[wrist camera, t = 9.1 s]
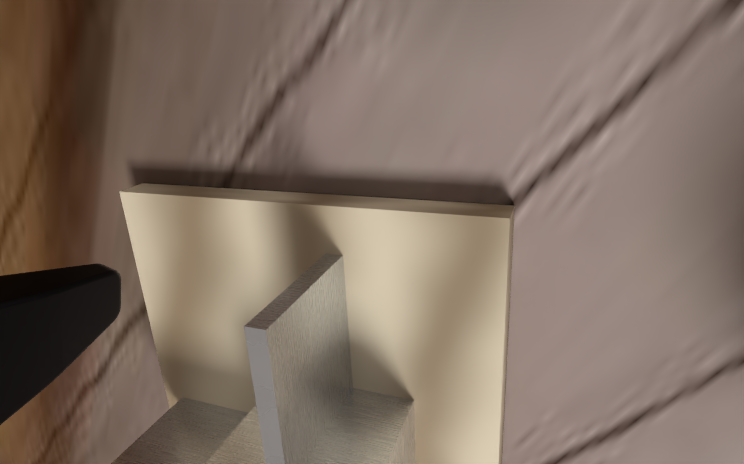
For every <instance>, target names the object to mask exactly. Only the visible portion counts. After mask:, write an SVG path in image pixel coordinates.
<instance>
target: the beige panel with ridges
mask: <svg viewBox="0 0 744 464" xmlns="http://www.w3.org/2000/svg"><path fill="white" fill-rule="evenodd" d="M120 196H121V201H122V205H123V209H124V214H125V218H126V222H127V226H128V231H129V235H130V239H131V244H132V248H133V252H134V257H135V261H136V265H137V269H138V274H139V278H140V282H141V287H142V291H143V295H144V300H145V304H146V308H147V312H148V317H149V321H150V325H151V330H152V334H153V338H154V343H155V347H156V351H157V356H158V360H159V364H160V368H161V373H162V377H163V381H164V386H165V390H166V394H167V399H168V403H169V407H170V409H169V410H168V411H167V412H166V413H165V414H164V415H163V416H162V417H161V418H160V419H158V420H157V421H156V422H155V423H154V424H153V425H152V426H151V427H150V428H149V429H148V430H147V431H146V432H145V433H143V434H142V435H141V436H140V437H139V438H138V439H137V440H136V441H135V442H134V443H133V444H132V445H131V446H130V447H128V448H127V449H126V450H125V451H124V452H123V453H122V454H121V455H120V456H119V457H118V458H117V459H116V460H115V461H113V462H112V463H111V464H502V449H503V429H504V409H505V389H506V369H507V348H508V328H509V308H510V288H511V268H512V248H513V227H514V207H515V206H513V205H496V204H480V203H463V202H446V201H430V200H413V199H396V198H380V197H363V196H347V195H330V194H313V193H297V192H280V191H263V190H247V189H230V188H214V187H197V186H180V185H164V184H147V183H142V184H139V185H136V186H134V187H131V188H128V189H125V190H123V191H120Z"/></svg>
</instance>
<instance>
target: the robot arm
mask: <svg viewBox="0 0 744 464" xmlns="http://www.w3.org/2000/svg"><path fill="white" fill-rule="evenodd" d="M120 308H121V276H120V274H119V273H118V272H117V271H116V270H114V269H111V268H109V267H107V266H105V265H102V264H90V265H82V266H74V267H66V268H58V269H51V270H43V271H35V272H27V273H19V274H11V275H4V276H0V425H1V424H2V423H3V422H4V421H6V420H7V419H8V418H9V417H11V416H12V415H13V414H14V413H15V412H17V411H18V410H19V409H20V408H21V407H23V406H24V405H25V404H26V403H27V402H29V401H30V400H31V399H32V398H34V397H35V396H36V395H37V394H38V393H40V392H41V391H42V390H43V389H44V388H45V387H47V386H48V385H49V384H50V383H51V382H52V381H53V380H55V379H56V378H57V377H58V376H59V375H60V374H61V373H62V372H63V371H64V370H65V369H66V368H67V367H68V366H69V365H70V364H71V363H72V362H73V361H74V360H75V359H76V358H77V357H78V356H79V355H80V354H81V353H82V352H83V351H84V350H85V349H86V348H87V347H88V346H89V345H90V344H91V343H92V342H93V341H94V340H95V339H96V338H97V337H98V336H99V335H100V334H101V333H102V332H103V331H104V330H105V329H106V328H107V327H108V326H109V325H110V324H111V323H113V321H114V320H115V319H116V318H117V316H118V314H119V312H120Z"/></svg>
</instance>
